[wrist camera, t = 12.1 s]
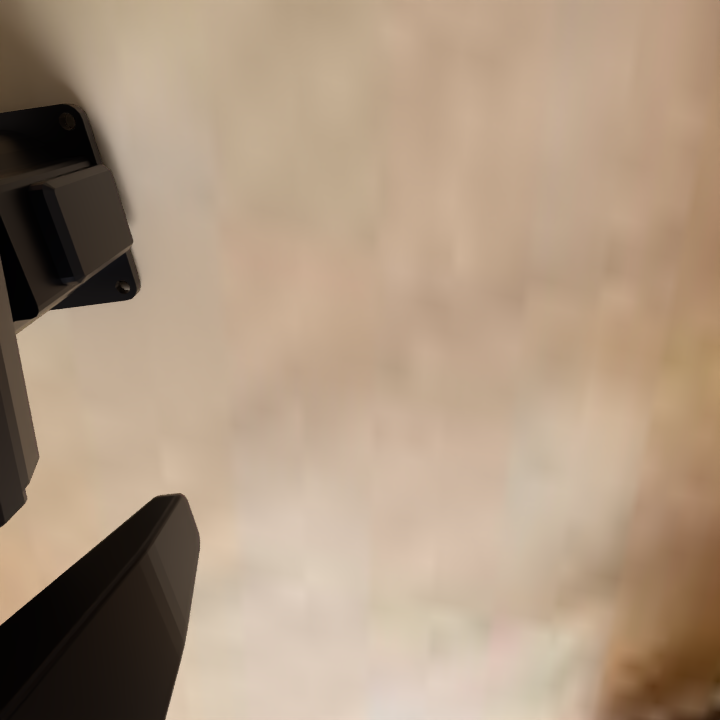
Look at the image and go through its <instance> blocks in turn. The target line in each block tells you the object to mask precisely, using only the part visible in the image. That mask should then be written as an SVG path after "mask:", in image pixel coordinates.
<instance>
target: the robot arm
mask: <svg viewBox="0 0 720 720" xmlns="http://www.w3.org/2000/svg"><path fill="white" fill-rule="evenodd" d="M67 113H69V114H71V115H72V116H73V117H74V119H75V124H76V125H75V127H74V129H71V128H70V127H68V126H67V124H66V123H65V116H66V114H67ZM132 244H133V238H132V235H131V232H130V229H129V226H128V222H127V219H126V216H125V213H124V210H123V207H122V203H121V200H120V197H119V194H118V191H117V187H116V184H115V181H114V178H113V175H112V172H111V170H110V169H108V168H107V167H106V166H105V165H103V164H102V161H101V157H100V154H99V151H98V148H97V145H96V142H95V139H94V136H93V132H92V129H91V126H90V123H89V120H88V117H87V115H86V114H85V112H84V111H83V110H82V109H81V108H80V107H78V106H76V105H74V104H59V105H52V106H45V107H38V108H32V109H25V110H18V111H11V112H5V113H0V527H2V526H3V525H4V524H6V523H7V522H8V520H9V519H10V518H11V517H12V516H13V515H14V514H15V513H16V512H17V511H18V510H19V509H20V508H21V507H22V506H23V505H24V504H25V502H26V500H27V495H26V491H25V488H26V487H27V485H28V484H29V483H30V480H31V478H32V475H33V472H34V470H35V467H36V465H37V462H38V460H39V452H38V447H37V442H36V437H35V432H34V427H33V422H32V416H31V411H30V406H29V401H28V396H27V391H26V386H25V380H24V375H23V370H22V365H21V360H20V355H19V350H18V344H17V339H16V334H17V333H19V332H20V331H22V330H23V329H24V328H26V327H27V326H28V325H30V324H31V323H32V322H34V321H35V320H36V319H38V318H39V317H41V316H42V315H43V314H45V313H46V312H47V311H49V310H55V309H63V308H71V307H79V306H86V305H94V304H102V303H110V302H117V301H125V300H129V299H132V298H133V297H134V296H135V295H136V294H137V293H138V292H139V291H140V288H141V285H140V280H139V277H138V273H137V270H136V267H135V264H134V261H133V258H132V255H131V251H130V247H131V245H132ZM120 280H123V281H126V282H127V283H128V284H129V286H130V290H125V289H123V288H122V287H121V285H120ZM199 551H200V536H199V532H198V529H197V526H196V523H195V520H194V517H193V514H192V511H191V508H190V506H189V503H188V500H187V498H186V497H185V495H183V494H181V493H176V494H167V495H159V496H156V497H155V498H153V499H152V500H151V501H149V502H148V503H147V504H146V505H145V506H143V507H142V508H141V509H140V510H139V511H137V512H136V513H135V514H134V515H133V516H131V517H130V518H129V519H128V520H127V521H125V522H124V523H123V524H122V525H121V526H119V527H118V528H117V529H116V530H115V531H113V532H112V533H111V534H110V535H109V536H107V537H106V538H105V539H104V540H103V541H101V542H100V543H99V544H98V545H97V546H95V547H94V548H93V549H92V550H91V551H89V552H88V553H87V554H86V555H85V556H83V557H82V558H81V559H80V560H79V561H77V562H76V563H75V564H74V565H73V566H71V567H70V568H69V569H68V570H66V571H65V572H64V573H63V574H62V575H60V576H59V577H58V578H57V579H56V580H54V581H53V582H52V583H51V584H50V585H48V586H47V587H46V588H45V589H44V590H42V591H41V592H40V593H39V594H38V595H36V596H35V597H34V598H33V599H32V600H30V601H29V602H28V603H27V604H26V605H24V606H23V607H22V608H21V609H20V610H18V611H17V612H16V613H15V614H14V615H12V616H11V617H10V618H9V619H8V620H6V621H5V622H4V623H3V624H2V625H0V720H165V719H166V715H167V711H168V707H169V704H170V700H171V696H172V692H173V689H174V685H175V681H176V677H177V674H178V670H179V666H180V662H181V658H182V654H183V650H184V646H185V641H186V635H187V629H188V623H189V617H190V610H191V604H192V597H193V590H194V584H195V577H196V571H197V564H198V558H199Z"/></svg>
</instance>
